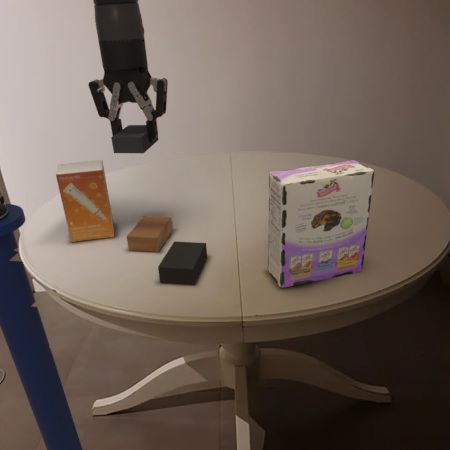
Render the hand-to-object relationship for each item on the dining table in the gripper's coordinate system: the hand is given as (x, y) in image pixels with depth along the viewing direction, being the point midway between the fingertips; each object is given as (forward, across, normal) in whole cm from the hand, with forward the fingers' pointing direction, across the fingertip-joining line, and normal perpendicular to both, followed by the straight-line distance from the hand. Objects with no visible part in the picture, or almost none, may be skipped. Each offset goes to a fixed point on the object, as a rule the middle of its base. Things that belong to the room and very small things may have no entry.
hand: (136, 140), depth 86 cm
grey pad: (+1, 0, 0) cm, 1 cm away
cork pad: (+16, +4, -9) cm, 19 cm away
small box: (+16, -8, -7) cm, 19 cm away
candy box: (+16, +34, -18) cm, 41 cm away
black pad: (+16, +13, -19) cm, 28 cm away
